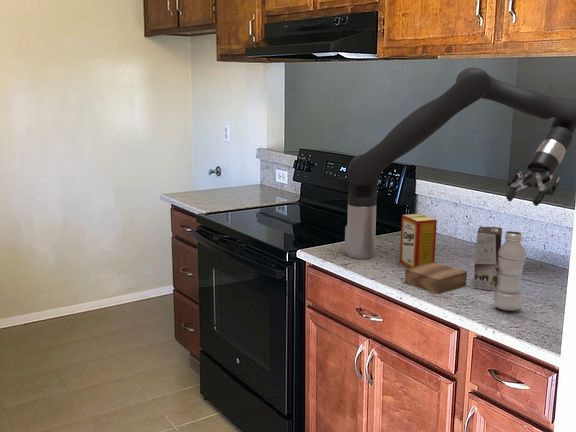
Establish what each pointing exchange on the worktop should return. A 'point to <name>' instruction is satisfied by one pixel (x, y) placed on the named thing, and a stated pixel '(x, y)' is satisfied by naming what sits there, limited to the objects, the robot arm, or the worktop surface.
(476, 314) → the worktop surface
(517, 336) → the worktop surface
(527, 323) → the worktop surface
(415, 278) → the brown flat square block
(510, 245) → the plastic bottle
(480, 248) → the coffee box
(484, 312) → the worktop surface
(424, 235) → the baking soda box
